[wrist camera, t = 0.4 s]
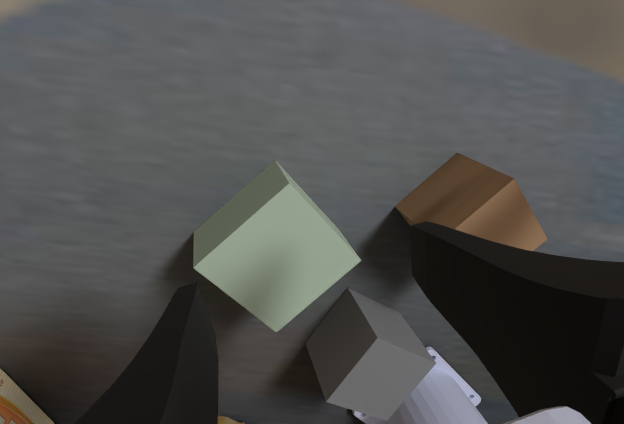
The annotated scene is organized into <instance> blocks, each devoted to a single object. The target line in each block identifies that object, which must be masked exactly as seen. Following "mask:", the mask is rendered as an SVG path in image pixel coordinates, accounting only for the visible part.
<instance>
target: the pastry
mask: <svg viewBox="0 0 624 424" xmlns="http://www.w3.org/2000/svg"><path fill="white" fill-rule="evenodd" d="M218 424H245V423H244V422H243V421H242V423H240V422H236V421H234V420H232V419H231V418H229V417H224V416H218Z"/></svg>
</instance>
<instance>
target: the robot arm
mask: <svg viewBox="0 0 624 424" xmlns="http://www.w3.org/2000/svg"><path fill="white" fill-rule="evenodd" d="M410 233H411V255H412V275H413V277H414V278H415V280H416V282H417V283H418V285H419V286H420V288H421V289H422V291H423V292H424V294H425V295H426V297H427V298H428V299H429V301H430V302H431V303H432V304H433V305H434V306H435V307H436V309H437V310H438V311H439V312H440V313H441V314H442V316H443V317H444V318H445V319H446V320H447V321H448V322H449V323H450V325H451V326H452V327H453V328H454V329H455V330H456V331H457V332H458V334H459V335H460V336H461V337H462V338H463V339H464V340H465V341H466V343H467V344H468V345H469V346H470V347H471V349H472V350H473V351H474V352H475V353H476V355H477V356H478V357H479V359H480V360H481V362H482V363H483V364H484V366H485V367H486V369H487V370H488V371H489V373H490V374H491V376H492V377H493V378H494V380H495V381H496V383H497V384H498V386H499V387H500V389H501V390H502V392H503V393H504V395H505V396H506V398H507V399H508V401H509V402H510V404H511V405H512V407H513V408H514V410H515V411H516V413H517V414H518V416H519V418H517V419H514V420H512V421H509V422H507V423H504V424H624V262H609V261H597V260H586V259H578V258H570V257H562V256H556V255H550V254H544V253H539V252H534V251H529V250H524V249H520V248H516V247H512V246H508V245H504V244H501V243H497V242H493V241H490V240H487V239H483V238H480V237H477V236H474V235H471V234H467V233H464V232H461V231H458V230H455V229H452V228H449V227H446V226H443V225H440V224H436V223H432V222H428V221H425V222H422V223H418V224H414V225H410ZM426 350H427V351H428V352H429V354H430V355H431V356H432V358H433V359H434V361H435V362H436V364H435V366H434V367H433V368H432V369H431V370H430V371H429V373H428V374H427V375H426V376H425V377H424V378H423V380H422V381H421V382H420V383H419V384H418V385H417V386H416V388H415V389H414V390H413V391H412V392H411V393H410V395H409V396H408V397H407V398H406V399H405V400H404V402H403V403H402V404H401V405H400V406H399V407H398V409H397V410H396V411H395V412H394V413H393V414H392V416H391V417H390V418H389V419H388V420H387V421H386V420H383V419H380V418H376V417H373V416H370V415H367V414H363V413H360V412H357V411H354V410H352V412H353V414H354V416H356V417H357V418H358V419H360V420H361V421H363V422H364V423H365V424H488V423H487V422H486V421H485V419H484V418H483V417H482V415H481V414H480V413H479V411H478V410H477V409H476V407H475V406H477V405H478V404H479V403H480V402H481V398H480V396H479V395H478V394H477V393H476V392H475V391H474V390H473V389H472V388H471V387H470V386H469V385H468V384H467V383H466V382H465V381H464V380H463V379H462V378H461V377H460V376H459V375H458V374H457V373H456V372H455V371H454V370H453V369H452V368H451V367H450V366H449V364H448V363H447V362H446V361H445V360H444V359H443V358H442V357H441V356H440V355H439V354H438V353H437V352H436V351H435V350H434V349H433V348H431V347H426ZM74 424H218V355H217V347H216V339H215V332H214V329H213V326H212V323H211V320H210V317H209V314H208V311H207V309H206V306H205V303H204V300H203V297H202V294H201V291H200V288H199V285H198V283H196V284H192V285H188V286H184V287H181V288H178V289H177V291H176V292H175V294H174V296H173V297H172V299H171V301H170V303H169V304H168V306H167V308H166V310H165V311H164V313H163V315H162V317H161V318H160V320H159V322H158V323H157V325H156V326H155V328H154V330H153V331H152V333H151V334H150V336H149V338H148V339H147V341H146V342H145V343H144V345H143V346H142V348H141V349H140V351H139V352H138V354H137V355H136V356H135V358H134V359H133V360H132V362H131V363H130V364H129V366H128V367H127V368H126V369H125V371H124V372H123V373H122V374H121V375H120V376H119V378H118V379H117V380H116V381H115V382H114V384H113V385H112V386H111V387H110V388H109V389H108V390H107V391H106V392H105V393H104V394H103V395H102V396H101V397H100V398H99V399H98V400H97V401H96V403H95V404H94V405H93V406H92V407H91V408H90V409H89V410H88V411H87V412H86V413H85V414H84V415H83V416H82V417H81V418H80V419H79V420H78V421H76V422H75V423H74Z"/></svg>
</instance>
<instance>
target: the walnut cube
mask: <svg viewBox="0 0 624 424" xmlns="http://www.w3.org/2000/svg"><path fill="white" fill-rule="evenodd" d="M395 207H396V209H397V210H398V211H399V212H400V214H401V215H402V216H403V217H404V219H405V220H406V221H407V223H408V224H409V225H414V224H418V223H422V222H425V221H428V222H432V223H436V224H440V225H443V226H446V227H449V228H452V229H455V230H458V231H461V232H464V233H467V234H471V235H474V236H477V237H480V238H483V239H487V240H490V241H493V242H497V243H501V244H504V245H508V246H512V247H516V248H520V249H524V250H529V251H533V250H535V249H536V248H537V247H538V246H539V245H541V244H542V243H543V242H544V241H546V240H547V237H546V236H545V234H544V232H543V230H542V228H541V227H540V225H539V223H538V221H537V219H536V217H535V216H534V214H533V212H532V210H531V208H530V206H529V205H528V203H527V201H526V199H525V197H524V196H523V194H522V192H521V190H520V188H519V186H518V185H517V183H516V181H515V179H514V178H512V177H509V176H507V175H505V174H503V173H501V172H498V171H496V170H494V169H492V168H490V167H487V166H485V165H483V164H481V163H479V162H476V161H474V160H472V159H470V158H468V157H465V156H463V155H461V154H459V153H456V154H455V155H454V156H453V157H452V158H451V159H449V160H448V161H447V162H446V163H445V164H444V165H442V166H441V167H440V168H439V169H438V170H437V171H435V172H434V173H433V174H432V175H431V176H430V177H429V178H427V179H426V180H425V181H424V182H423V183H422V184H420V185H419V186H418V187H417V188H416V189H415V190H414V191H412V192H411V193H410V194H409V195H408V196H407V197H405V198H404V199H403V200H402V201H401V202H400V203H398V204H397V205H396V206H395Z"/></svg>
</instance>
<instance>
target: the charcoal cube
mask: <svg viewBox="0 0 624 424" xmlns="http://www.w3.org/2000/svg"><path fill="white" fill-rule="evenodd" d="M306 346H307V349H308V352H309V355H310V358H311V360H312V363H313V366H314V369H315V372H316V375H317V377H318V380H319V383H320V386H321V389H322V392H323V394H324V397H325V400H326V402H328V403H331V404H335V405H338V406H341V407H344V408H347V409H351V410H354V411H357V412H360V413H363V414H367V415H370V416H373V417H376V418H380V419H383V420H386V421H387V420H388V419H389V418H390V417H391V416H392V414H393V413H394V412H395V411H396V410H397V409H398V407H399V406H400V405H401V404H402V403H403V402H404V400H405V399H406V398H407V397H408V396H409V395H410V393H411V392H412V391H413V390H414V389H415V388H416V386H417V385H418V384H419V383H420V382H421V381H422V380H423V378H424V377H425V376H426V375H427V374H428V373H429V371H430V370H431V369H432V368H433V367H434V366H435V364H436V362H435V361H434V359H433V358H432V356H431V355H430V354H429V352H428V351H427V350H426V348H425V347H424V346H423V344H422V343H421V341H420V340H419V339H418V337H417V336H416V335H415V333H414V332H413V330H412V329H411V328H410V326H409V325H408V324H407V322H406V321H405V319H404V318H403V317H402V315H401V314H400V313H399V312H397V311H395V310H393V309H391V308H389V307H387V306H384V305H382V304H380V303H378V302H376V301H374V300H372V299H370V298H368V297H366V296H364V295H362V294H360V293H358V292H356V291H354V290H352V289H350V288H347V289H346V290H345V292H344V293H343V294H342V296H341V297H340V298H339V300H338V301H337V302H336V304H335V305H334V306H333V308H332V309H331V310H330V312H329V313H328V314H327V315H326V317H325V318H324V319H323V321H322V322H321V323H320V325H319V326H318V327H317V329H316V330H315V331H314V333H313V334H312V335H311V337H310V338H309V339H308V340H307V342H306Z"/></svg>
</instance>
